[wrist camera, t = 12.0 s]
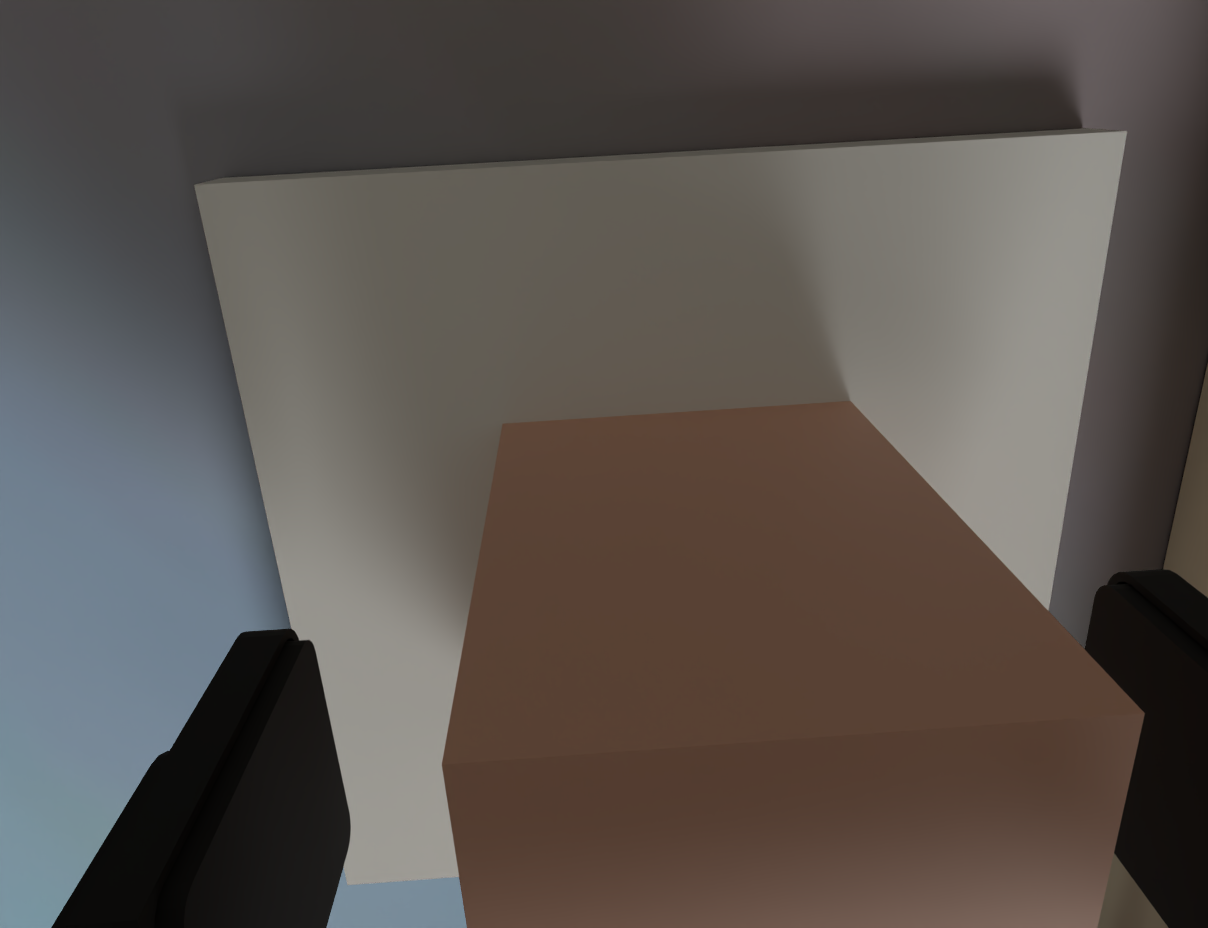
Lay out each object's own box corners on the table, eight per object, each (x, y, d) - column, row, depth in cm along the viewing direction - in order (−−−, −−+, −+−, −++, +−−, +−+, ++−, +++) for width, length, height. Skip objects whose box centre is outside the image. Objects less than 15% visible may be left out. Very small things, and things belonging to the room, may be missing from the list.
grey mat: (1084, 128, 12) (1127, 131, 12) (987, 795, 17) (1011, 835, 16) (221, 178, 12) (193, 184, 11) (359, 841, 17) (347, 884, 16)
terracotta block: (850, 400, 13) (1145, 714, 6) (834, 687, 15) (1047, 1152, 8) (503, 423, 13) (441, 764, 6) (532, 709, 15) (509, 1195, 8)
